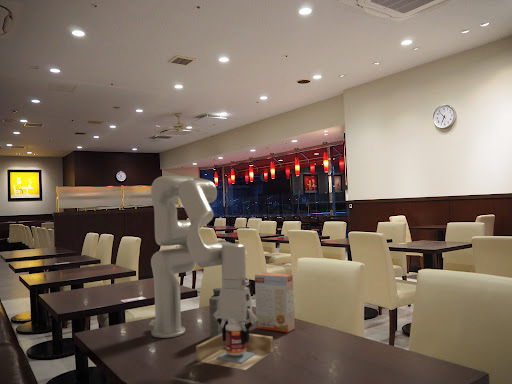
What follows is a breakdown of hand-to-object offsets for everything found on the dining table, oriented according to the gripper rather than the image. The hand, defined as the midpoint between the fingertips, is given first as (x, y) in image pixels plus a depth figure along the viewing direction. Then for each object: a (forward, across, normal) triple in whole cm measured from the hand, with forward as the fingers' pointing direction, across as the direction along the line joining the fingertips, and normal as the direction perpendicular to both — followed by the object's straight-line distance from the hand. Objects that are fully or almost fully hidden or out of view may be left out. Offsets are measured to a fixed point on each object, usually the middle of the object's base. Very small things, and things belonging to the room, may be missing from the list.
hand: (235, 340), depth 131 cm
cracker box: (+6, +3, -33) cm, 34 cm away
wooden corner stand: (+5, +1, -1) cm, 5 cm away
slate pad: (+5, 0, 0) cm, 5 cm away
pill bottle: (+4, 0, 0) cm, 4 cm away
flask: (+6, +16, -14) cm, 22 cm away
